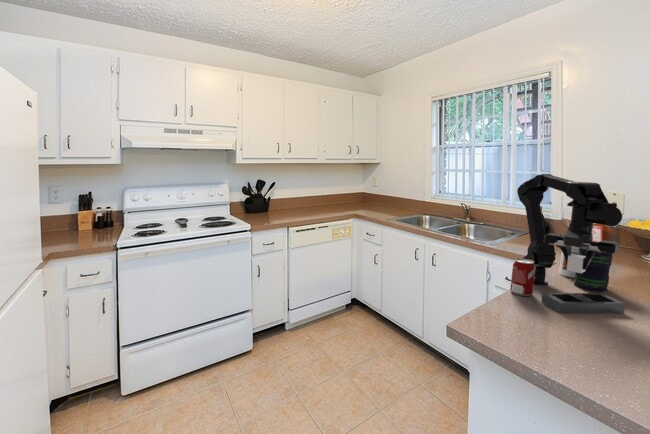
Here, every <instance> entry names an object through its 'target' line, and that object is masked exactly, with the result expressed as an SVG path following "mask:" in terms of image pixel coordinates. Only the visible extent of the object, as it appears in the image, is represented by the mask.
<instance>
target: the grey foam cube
mask: <svg viewBox="0 0 650 434" xmlns="http://www.w3.org/2000/svg"><path fill="white" fill-rule="evenodd" d="M585 258H586V256H581V255H575V254H571V255H569V256H568V263H567V271H572V272H577V273H583V272H585V271H586V269H585V270H584V269H583V266H584V261H585Z"/></svg>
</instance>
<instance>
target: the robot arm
mask: <svg viewBox="0 0 650 434" xmlns="http://www.w3.org/2000/svg"><path fill="white" fill-rule="evenodd" d="M549 188H551V189H553V190H557V191H559V192H563V193H565V196H567V197H568V198H569V199H572V200H571V201H570V202H568V203H567V204H566V206H567V207H572V208H571V214H570V215H571V217H570V224H569V225H568V229H567V230H566V231H565V232H564V234H561V233H553V232H550V233H547V234H546V231H545V230H546V229H545V225H544V218H543V215H542V208H541V204H542V202H543V200H544V197H545V196H544V193H546V192H547V191H548V190H549ZM516 192H517V197H518V200H519V202H520V203H521V204H522V205H523V206H524V208H525V213H526V219H527V225H528V231H529V239H530V243H529V245H528V247H527V254H526V255H525V256H523V257H522V258H521V259H528V260H532V261H534V265H535V267H536V270H535V278H534V285H548V284H549V282H548V281H546V275H547V273H546V270H547V268H549V269H551V268H552V266H553V264H554V262H555V261H556V256H557V253H556V251H555V247H556V248H559V249H560V250H561V253H562V252H563V254H564V257H565V261H566V264H567V263H568V256H569V255H571V248H572V246H575V247H582V246H589V249H588V250H586V258H585V261H584V266H583V269H584V270H585V269H586V268H587V266H588V265H589V263H590V262H591V260H592V258H593V257H594V256H595V255H596V254H597V253H600V252H608V253H612V254H615V253H618V252H619V251H620V243H619V242H618V241H613V240H605V239H603V240H600V241H593V238H594V236H593V228H594V224H596V225H601V226H607V227H615V226H618V225H619V224H620V223H621V221H622V220H623V214H622V211H621V209H619V208H618V203H616V202H609V201H608V199H607V197H606V195H605V193H604V191H603V190H602V188H601V184H600V183H597V182H590V181H589V182H588V181H587V182H586V181H585V182H584V181H583V182H582V181H574V180H571V179H570V180H569V179H567V178H563V177H559V176H555V175H553V174H551V173H539V174H537V175H535V176H534V177H533V178H531V179H529V180H527V181H524V182H523V183H521V184H520V185H519V186H518V187H517V191H516ZM555 243H556V245H554V244H555Z"/></svg>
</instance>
